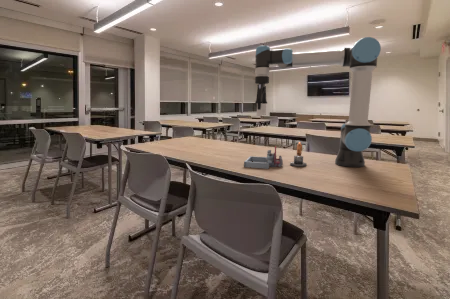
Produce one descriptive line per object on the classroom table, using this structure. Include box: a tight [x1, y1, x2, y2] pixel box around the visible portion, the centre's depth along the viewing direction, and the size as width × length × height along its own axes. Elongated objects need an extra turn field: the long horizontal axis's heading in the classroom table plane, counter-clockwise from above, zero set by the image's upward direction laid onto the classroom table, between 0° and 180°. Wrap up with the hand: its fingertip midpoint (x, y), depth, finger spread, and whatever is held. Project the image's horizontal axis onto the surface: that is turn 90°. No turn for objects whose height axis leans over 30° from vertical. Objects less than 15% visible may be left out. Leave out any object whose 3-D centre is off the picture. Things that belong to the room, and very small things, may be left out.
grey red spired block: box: [265, 145, 284, 168], centre depth 143 cm, size 11×11×12 cm
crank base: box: [289, 161, 307, 168], centre depth 144 cm, size 9×9×1 cm
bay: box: [243, 155, 270, 170], centre depth 145 cm, size 14×16×3 cm
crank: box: [293, 142, 304, 164], centre depth 146 cm, size 13×5×10 cm, turn 162°
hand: (261, 115), depth 142 cm, fingers open, 13 cm apart
